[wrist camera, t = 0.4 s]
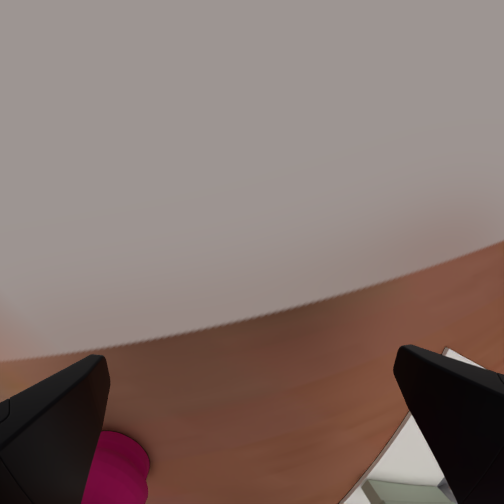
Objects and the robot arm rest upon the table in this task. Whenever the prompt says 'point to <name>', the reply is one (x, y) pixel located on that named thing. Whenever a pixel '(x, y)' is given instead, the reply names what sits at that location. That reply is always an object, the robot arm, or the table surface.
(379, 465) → the card
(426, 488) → the hinged panel
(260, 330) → the table surface
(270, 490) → the table surface
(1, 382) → the table surface
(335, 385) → the table surface
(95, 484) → the pepper mill
